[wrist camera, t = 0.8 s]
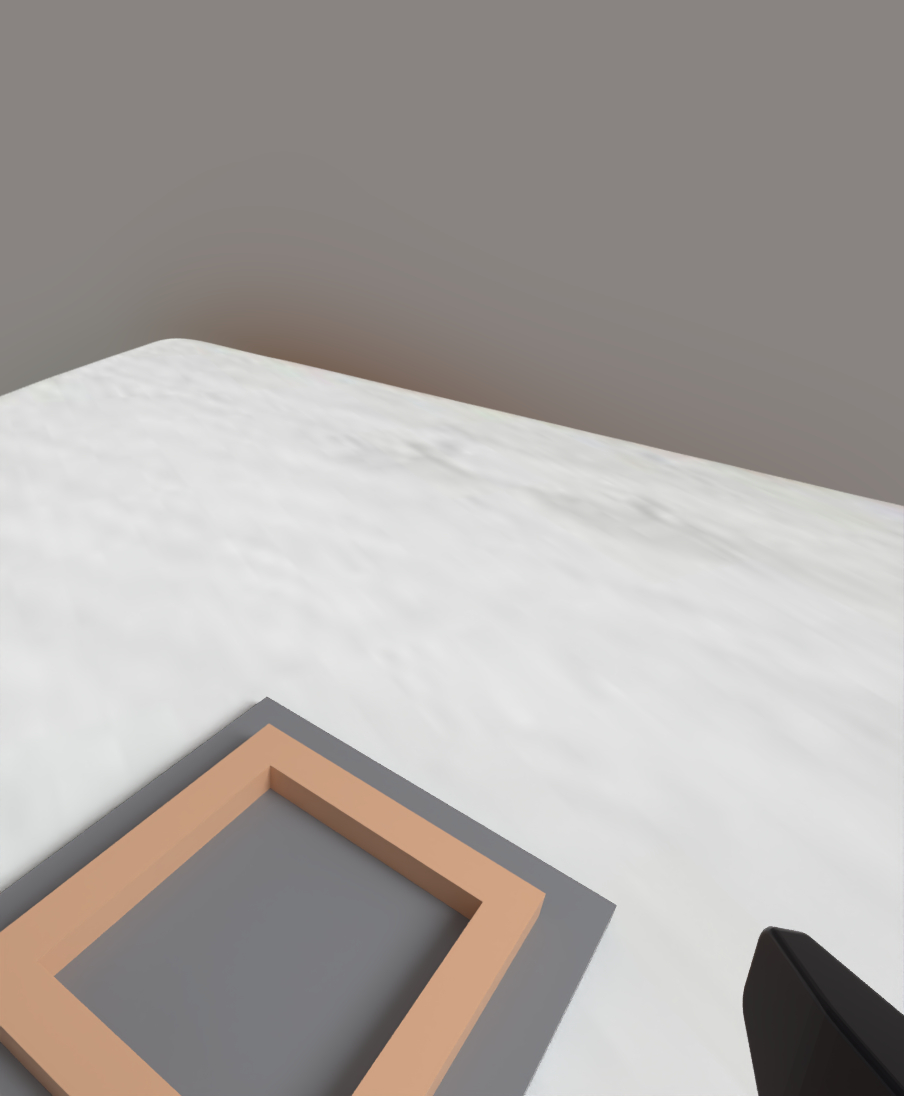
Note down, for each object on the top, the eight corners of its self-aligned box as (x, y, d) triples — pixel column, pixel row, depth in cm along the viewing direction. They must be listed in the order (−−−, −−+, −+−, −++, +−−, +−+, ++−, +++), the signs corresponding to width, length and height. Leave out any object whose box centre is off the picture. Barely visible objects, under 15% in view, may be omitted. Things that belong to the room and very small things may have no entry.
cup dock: (295, 1561, 14) (297, 1543, 13) (-158, 1026, 20) (-178, 989, 20) (612, 916, 26) (625, 883, 25) (267, 707, 33) (267, 674, 32)
